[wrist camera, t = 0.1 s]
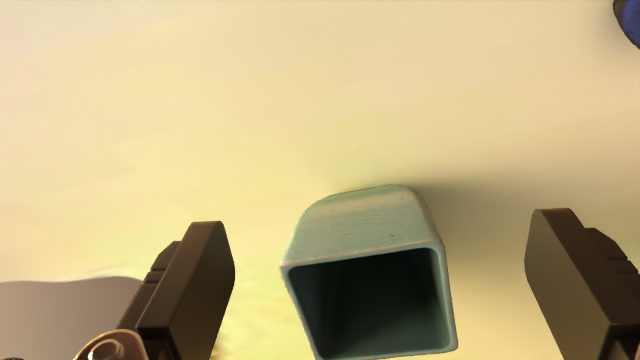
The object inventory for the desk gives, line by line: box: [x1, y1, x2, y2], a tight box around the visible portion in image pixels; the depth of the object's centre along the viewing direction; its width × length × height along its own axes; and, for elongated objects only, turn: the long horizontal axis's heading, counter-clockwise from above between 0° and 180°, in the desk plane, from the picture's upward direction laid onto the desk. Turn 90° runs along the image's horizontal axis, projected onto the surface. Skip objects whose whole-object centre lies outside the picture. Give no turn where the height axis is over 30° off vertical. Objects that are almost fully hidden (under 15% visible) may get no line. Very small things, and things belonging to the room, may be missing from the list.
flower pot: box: [279, 185, 458, 360], centre depth 28 cm, size 9×9×9 cm
